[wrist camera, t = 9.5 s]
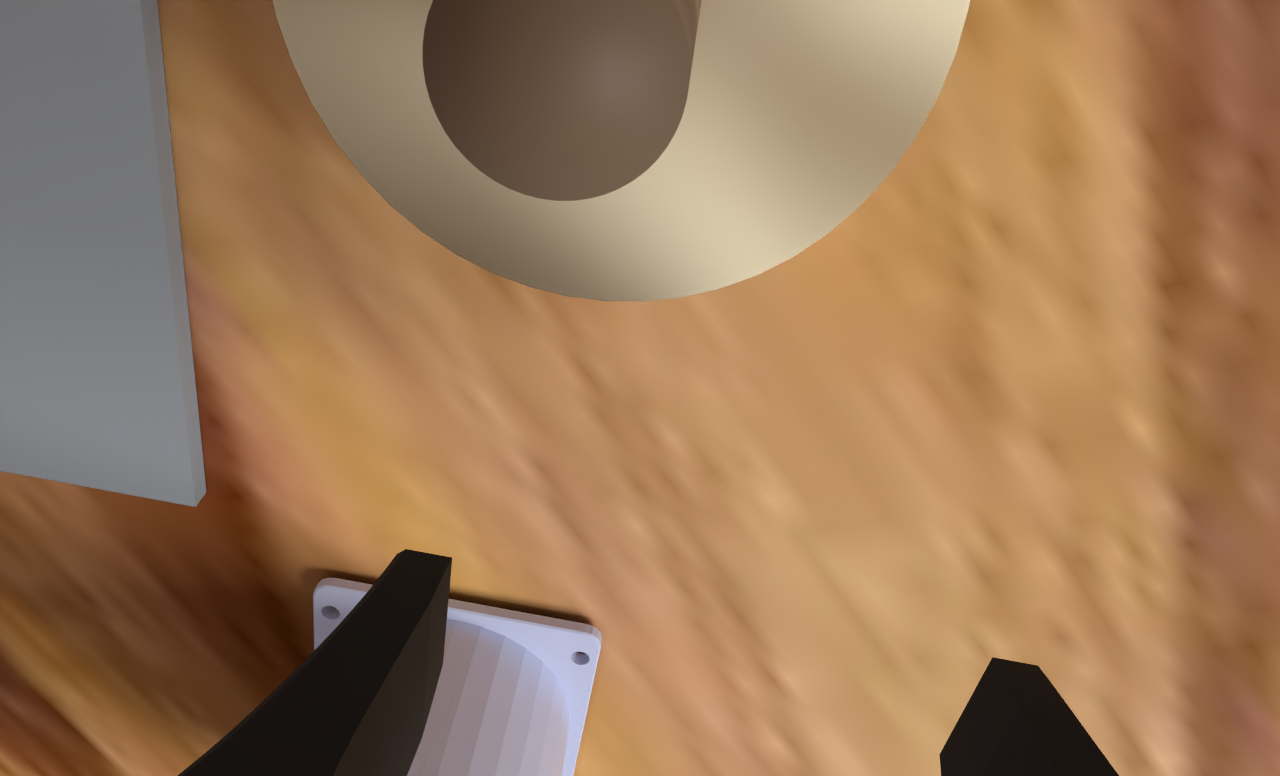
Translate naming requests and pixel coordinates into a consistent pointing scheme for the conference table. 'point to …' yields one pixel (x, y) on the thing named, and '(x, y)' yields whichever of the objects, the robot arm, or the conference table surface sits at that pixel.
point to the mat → (92, 255)
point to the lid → (623, 125)
